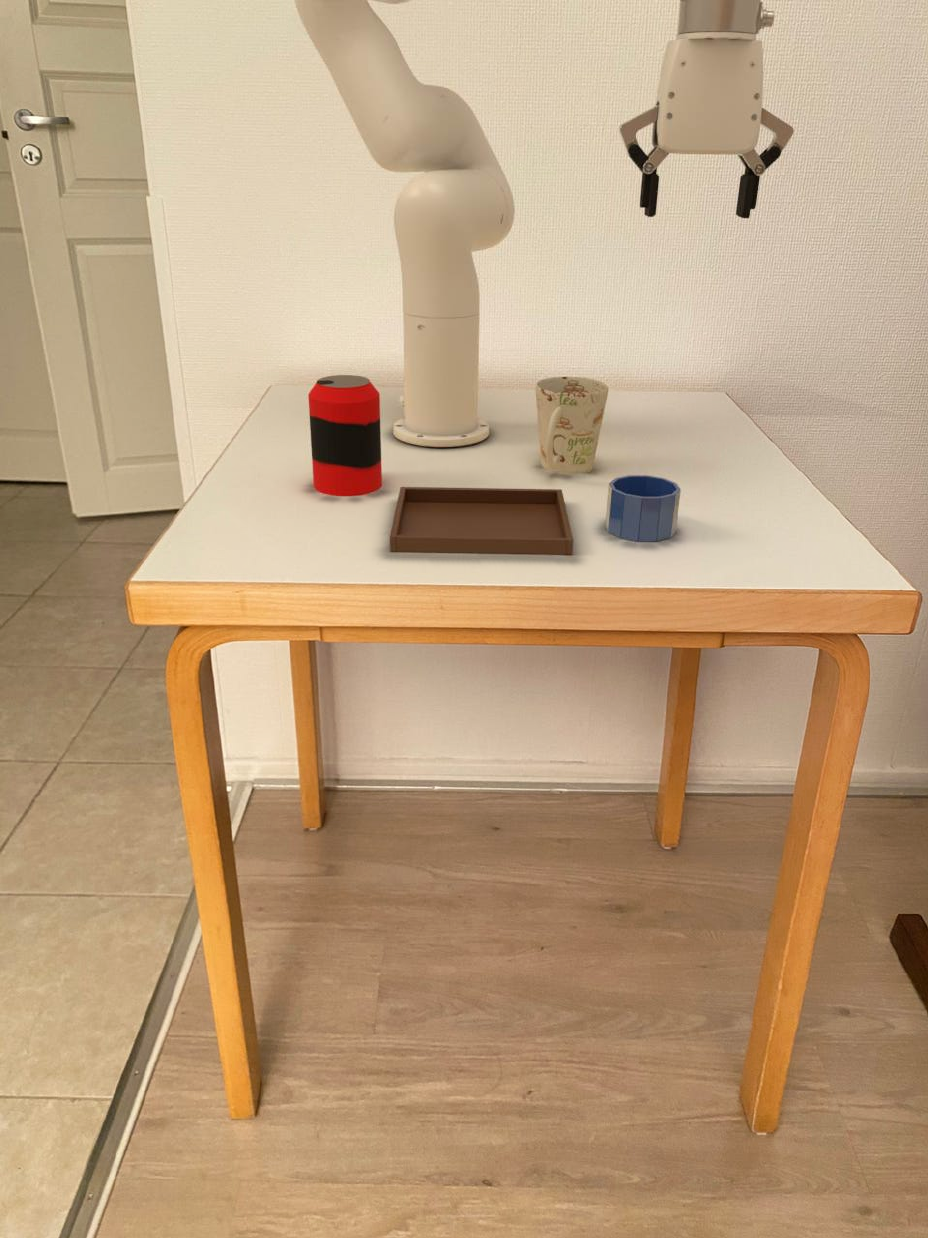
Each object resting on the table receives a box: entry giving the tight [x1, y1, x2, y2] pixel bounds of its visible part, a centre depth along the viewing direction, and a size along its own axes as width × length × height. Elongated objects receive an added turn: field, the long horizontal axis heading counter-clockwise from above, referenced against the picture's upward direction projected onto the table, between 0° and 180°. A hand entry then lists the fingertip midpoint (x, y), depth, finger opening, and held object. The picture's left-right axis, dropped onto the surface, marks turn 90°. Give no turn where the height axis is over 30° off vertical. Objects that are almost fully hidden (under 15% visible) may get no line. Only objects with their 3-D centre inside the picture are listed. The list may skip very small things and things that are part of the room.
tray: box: [389, 486, 574, 556], centre depth 98 cm, size 17×14×2 cm
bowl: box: [604, 474, 682, 543], centre depth 97 cm, size 7×7×5 cm
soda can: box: [307, 374, 383, 497], centre depth 106 cm, size 8×8×12 cm
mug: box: [535, 376, 609, 474], centre depth 112 cm, size 8×13×10 cm, turn 161°
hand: (696, 216), depth 101 cm, fingers open, 9 cm apart
